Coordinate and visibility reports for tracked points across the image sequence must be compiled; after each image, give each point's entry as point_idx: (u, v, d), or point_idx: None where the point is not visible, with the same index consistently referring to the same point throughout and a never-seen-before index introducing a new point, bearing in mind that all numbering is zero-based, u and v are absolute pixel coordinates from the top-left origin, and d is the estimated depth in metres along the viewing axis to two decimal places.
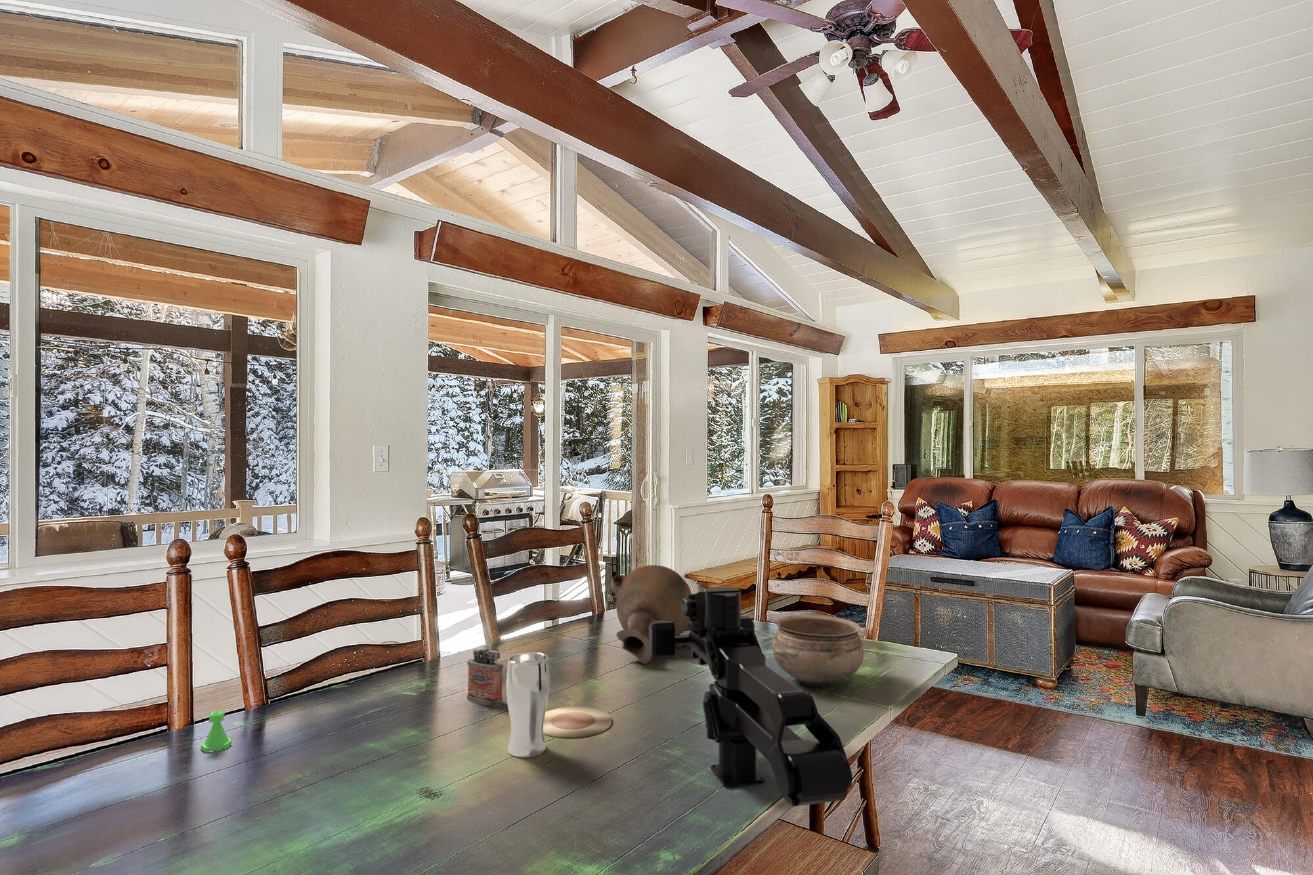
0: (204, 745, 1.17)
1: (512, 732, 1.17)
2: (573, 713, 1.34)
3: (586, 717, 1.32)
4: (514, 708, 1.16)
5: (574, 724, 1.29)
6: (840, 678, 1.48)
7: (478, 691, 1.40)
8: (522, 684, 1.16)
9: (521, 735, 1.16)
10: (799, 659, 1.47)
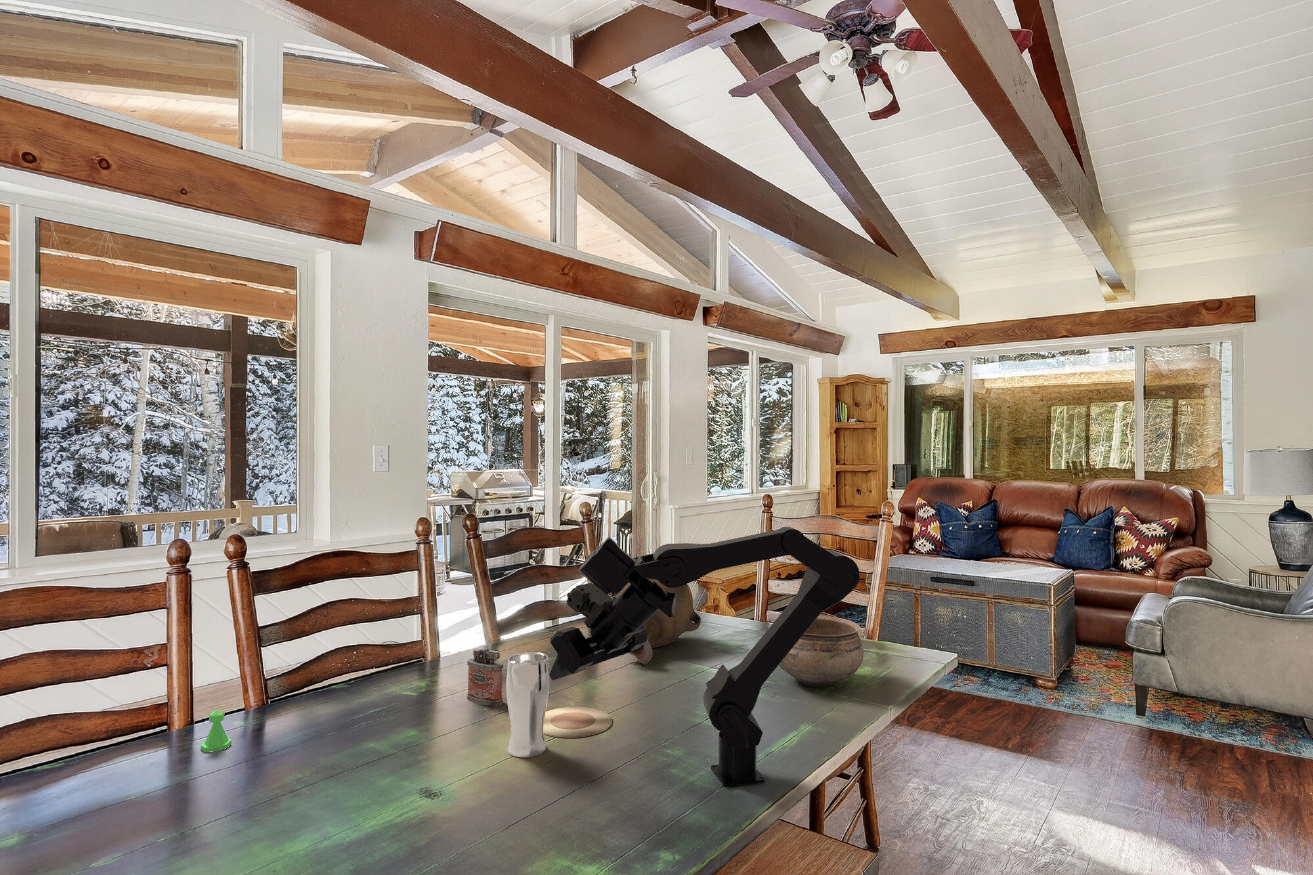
0: (204, 745, 1.17)
1: (512, 732, 1.17)
2: (573, 713, 1.34)
3: (586, 717, 1.32)
4: (514, 708, 1.16)
5: (574, 724, 1.29)
6: (840, 678, 1.48)
7: (478, 691, 1.40)
8: (522, 684, 1.16)
9: (521, 735, 1.16)
10: (799, 659, 1.47)
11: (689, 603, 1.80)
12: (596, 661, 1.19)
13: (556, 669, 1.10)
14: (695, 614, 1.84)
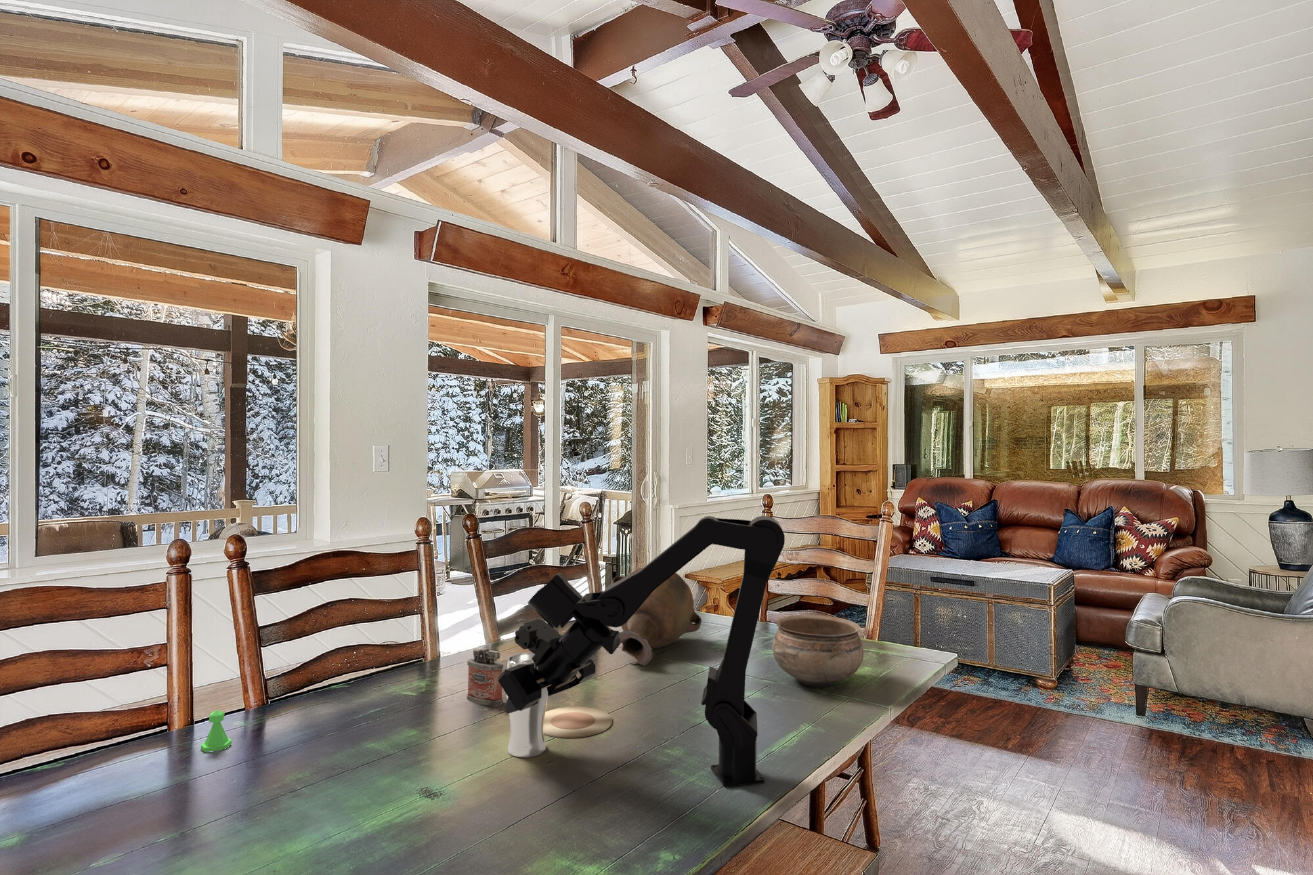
0: (204, 745, 1.17)
1: (512, 732, 1.17)
2: (573, 713, 1.34)
3: (586, 717, 1.32)
4: None
5: (574, 724, 1.29)
6: (840, 678, 1.48)
7: (478, 691, 1.40)
8: None
9: (521, 735, 1.16)
10: (799, 659, 1.47)
11: (690, 604, 1.79)
12: None
13: (510, 703, 1.15)
14: (695, 615, 1.83)
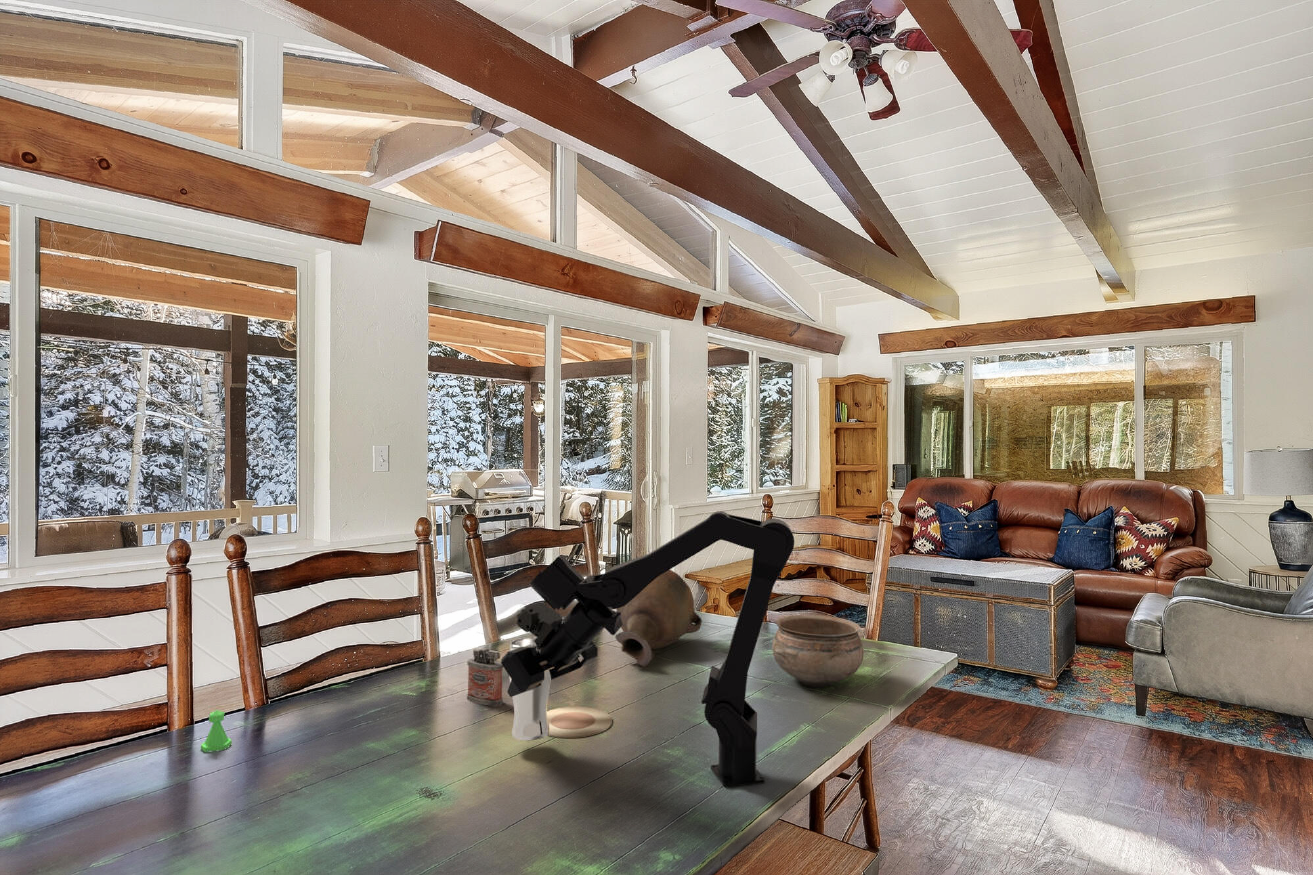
0: (204, 745, 1.17)
1: (515, 716, 1.18)
2: (573, 713, 1.34)
3: (586, 717, 1.32)
4: None
5: (574, 724, 1.29)
6: (840, 678, 1.48)
7: (478, 691, 1.40)
8: None
9: (524, 718, 1.17)
10: (799, 659, 1.47)
11: (690, 605, 1.78)
12: None
13: (513, 686, 1.15)
14: (696, 615, 1.82)
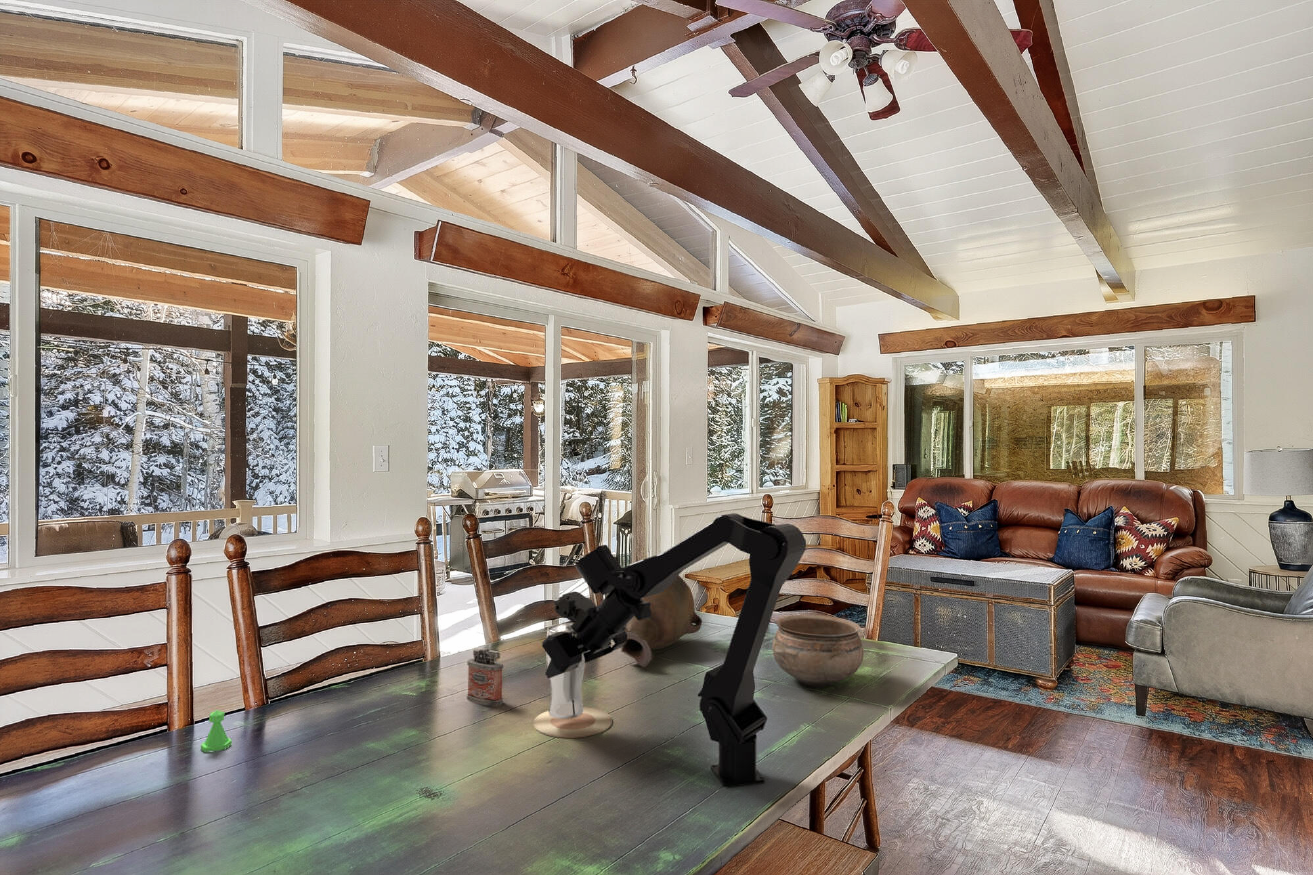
0: (204, 745, 1.17)
1: (552, 696, 1.27)
2: None
3: (586, 717, 1.32)
4: None
5: (574, 724, 1.29)
6: (840, 678, 1.48)
7: (478, 691, 1.40)
8: None
9: (561, 698, 1.26)
10: (799, 659, 1.47)
11: (690, 605, 1.78)
12: None
13: (551, 668, 1.24)
14: (696, 616, 1.82)
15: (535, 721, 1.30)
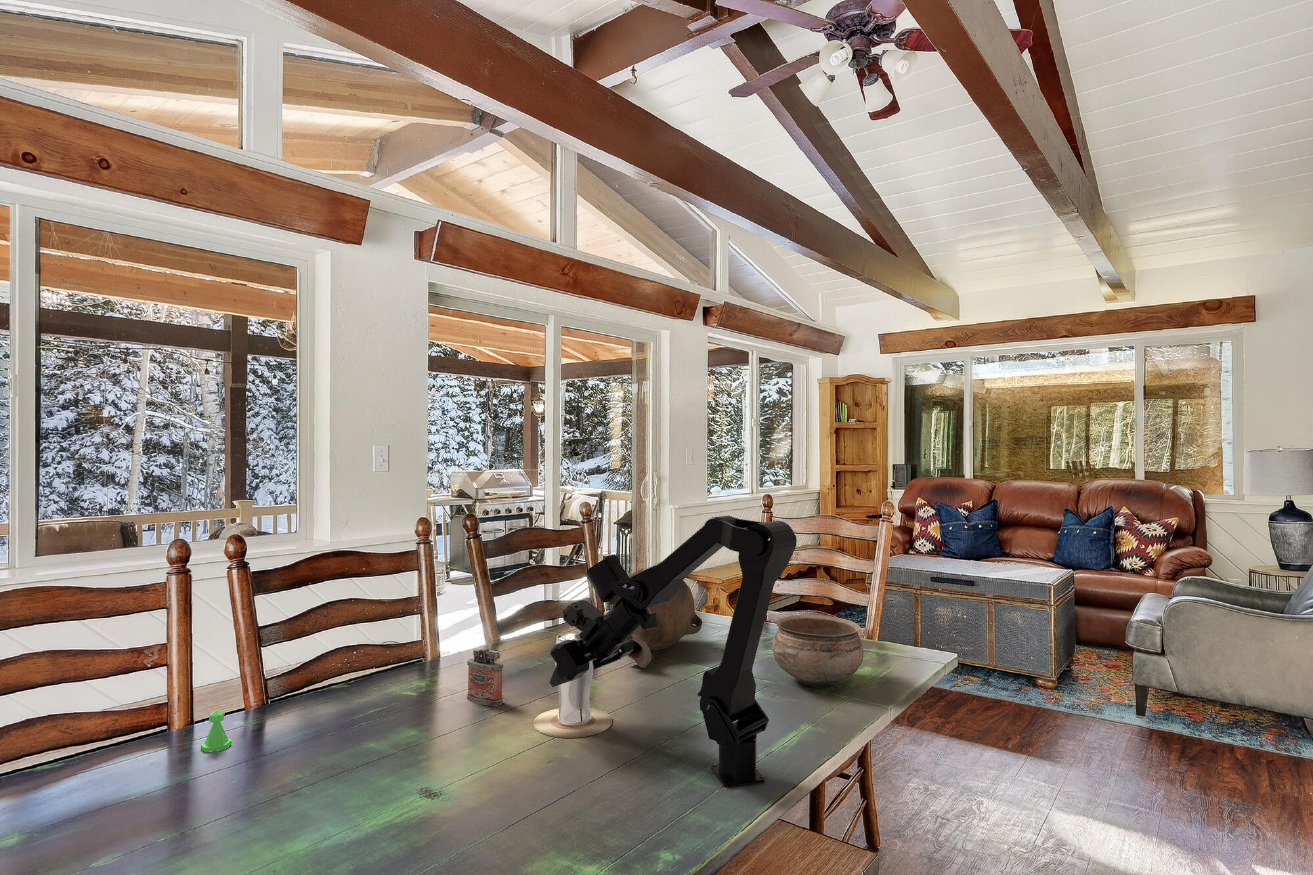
0: (204, 745, 1.17)
1: (561, 703, 1.29)
2: None
3: None
4: None
5: None
6: (840, 678, 1.48)
7: (478, 691, 1.40)
8: None
9: (570, 705, 1.28)
10: (799, 659, 1.47)
11: (690, 606, 1.77)
12: None
13: (556, 677, 1.26)
14: (696, 617, 1.81)
15: (535, 721, 1.30)
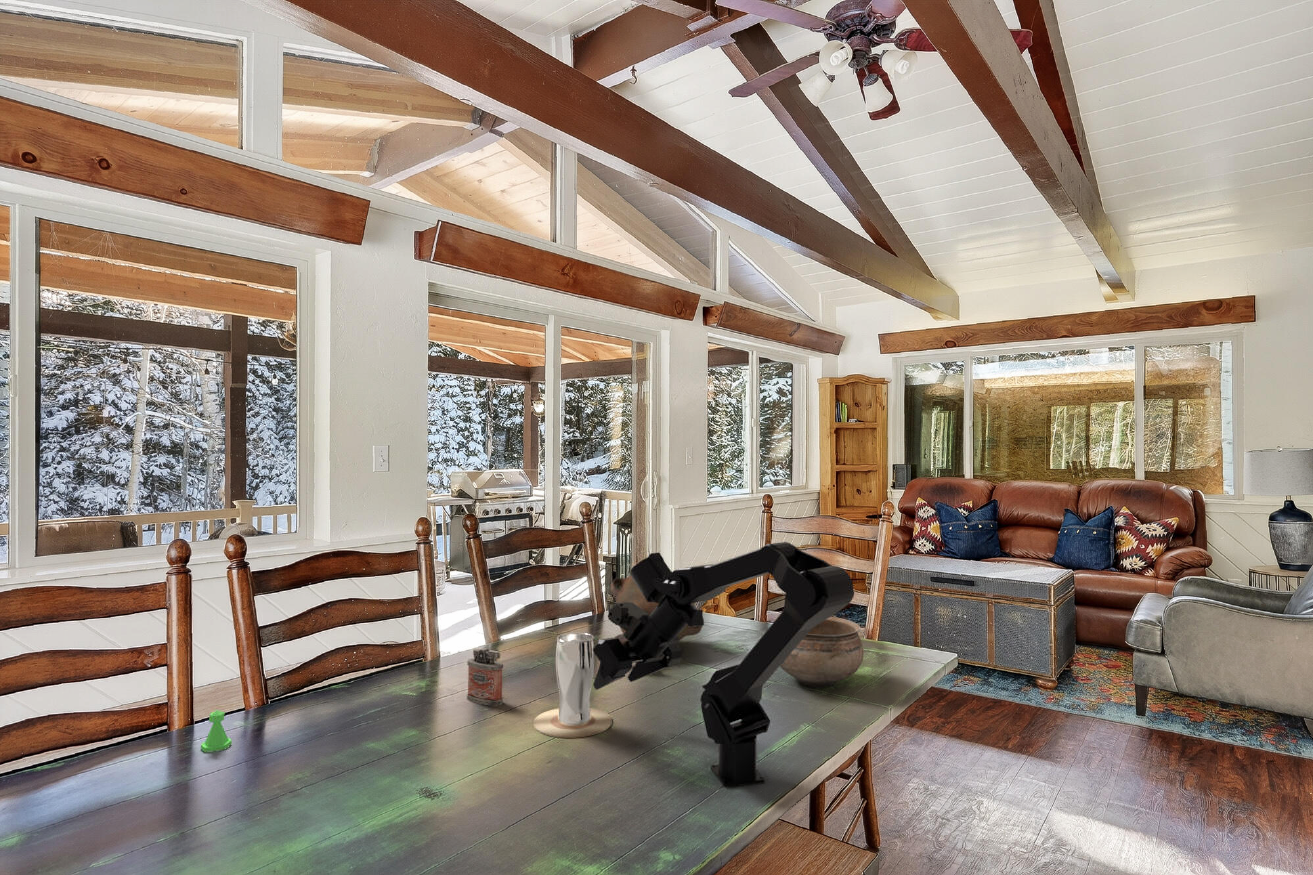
0: (204, 745, 1.17)
1: (561, 704, 1.29)
2: None
3: None
4: (563, 682, 1.28)
5: None
6: (840, 678, 1.48)
7: (478, 691, 1.40)
8: (571, 661, 1.27)
9: (570, 707, 1.28)
10: (799, 659, 1.47)
11: None
12: (637, 677, 1.29)
13: (599, 678, 1.22)
14: None
15: (535, 721, 1.30)
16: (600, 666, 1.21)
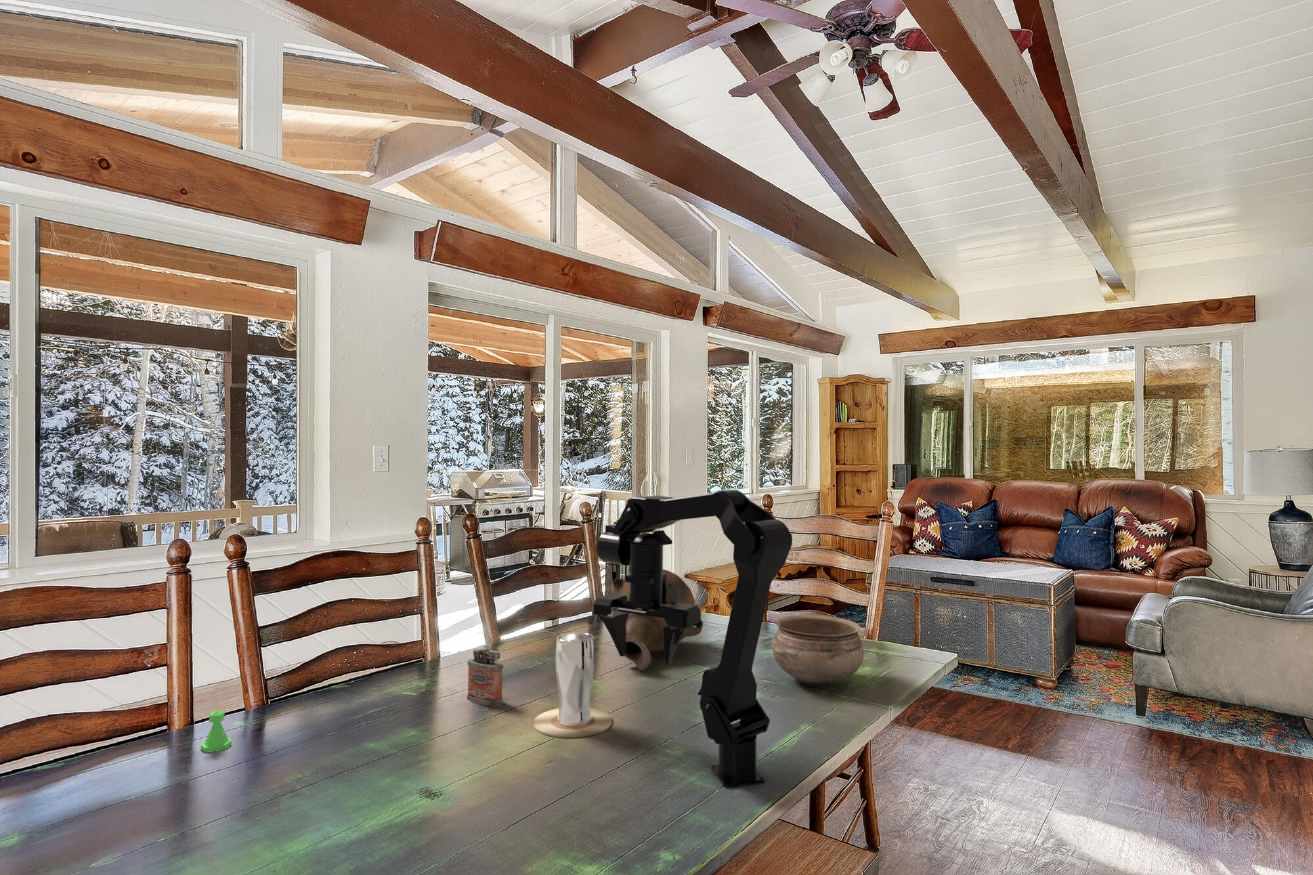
0: (204, 745, 1.17)
1: (561, 704, 1.29)
2: None
3: None
4: (563, 682, 1.28)
5: None
6: (840, 678, 1.48)
7: (478, 691, 1.40)
8: (571, 660, 1.27)
9: (570, 706, 1.28)
10: (799, 659, 1.47)
11: None
12: (665, 654, 1.22)
13: None
14: None
15: (535, 721, 1.30)
16: None
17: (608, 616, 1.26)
